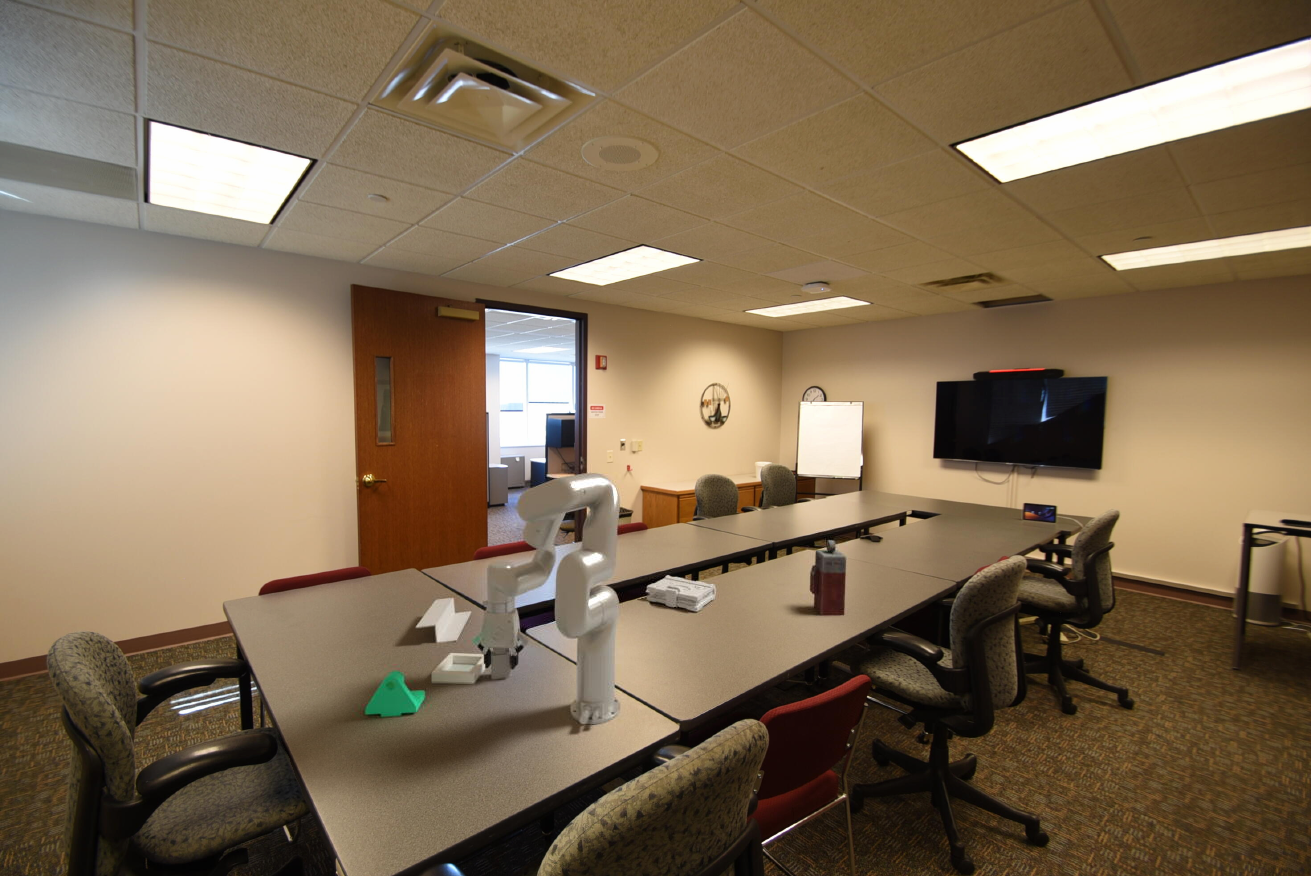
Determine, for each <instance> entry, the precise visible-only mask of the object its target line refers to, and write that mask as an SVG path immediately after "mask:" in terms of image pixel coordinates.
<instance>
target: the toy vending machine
mask: <svg viewBox="0 0 1311 876" xmlns="http://www.w3.org/2000/svg"><path fill="white" fill-rule="evenodd" d="M825 547H826V549H817V550H815V556H814V557H815V558H814V559H815V561H814V565H812V566H811V568H810V569H811V570H810V574H809V591H810V592H811V594H812V595H814V596H813V608H814V609H815V611H816V612H817V613H818V614H819V615H820V616H823V617H825V616H827V617H828V616H829V617H830V616H845V606H846V605H845V604H846V602H845V601H846V581H847V579H846V575H847V574H846V572H847V556H846V555H845V554H843V553H842V552H841V551H839V550H838V549H837V546H836V541H835V540H830V539H827V541H826V544H825Z"/></svg>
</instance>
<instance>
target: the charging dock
mask: <svg viewBox="0 0 1311 876" xmlns="http://www.w3.org/2000/svg"><path fill="white" fill-rule="evenodd" d="M486 670H487V668H485V664H484V655H483V654H482V653H463V652H462V653H461V652H458V653H456V652H450V653H449V654H448V655H447V656H446V657H445V658H444V659H443V660H442V661H441V662H440V663H439V664H438V665H437V666H436V667H435V668H434V669H433V671H432V672H431V684H457V685H460V684H461V685H462V684H463V685H475V683H476V682H477V681H478V680H479V678H480V677H481V676H482V675H483V673H484V672H485V671H486Z"/></svg>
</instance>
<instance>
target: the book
mask: <svg viewBox="0 0 1311 876" xmlns="http://www.w3.org/2000/svg"><path fill="white" fill-rule="evenodd" d="M645 593H647V596H646V601H649V602H654V603H661V604H665V606H667V607H670V608H674V607H676V608H678V607H679V608H682V609H686V610H688V611H693V612H699V611H700V610H701V609H703V607H704V606H706V605H707V604H708V603H710V602H712V601H711V600H713V599H714V600H715V597H716V594H717V588H716V584H714V583H711V584H710V583H706V582H703V581H699V580H696V581H695V580H689V579H685V578H684V577H678V576H671V575H669V574H668V575H665V577H664V578H662V579H660V580H658V581H656V582H655V583H651V584H648V585H647V586H646V590H645ZM714 600H713V601H714Z"/></svg>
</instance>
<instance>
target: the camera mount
mask: <svg viewBox="0 0 1311 876" xmlns="http://www.w3.org/2000/svg"><path fill="white" fill-rule="evenodd" d="M425 698H426V691H425V690H422V689H421V690H410V689H409V688H408V686H407V684H405V676H404V674H403V673H402V672H401V671H398V670H392V671H390V672H389V673H388V674H387V675H386V676H385V678H384V679H383V680H382V681H381V684H380V685H379V686H378V688H377V690H376V691H375V693H374V694H373V695H372V697H371V699H370V700H369V702H368V704H366V707H365V708H364V710H365V712H364V713H365V715H378V714H379V715H380V717H398V716H402V715H403V714H410V713H417V712H418V710H419V709H420V706H421V705H422V703H423V702H424V700H425Z"/></svg>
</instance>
